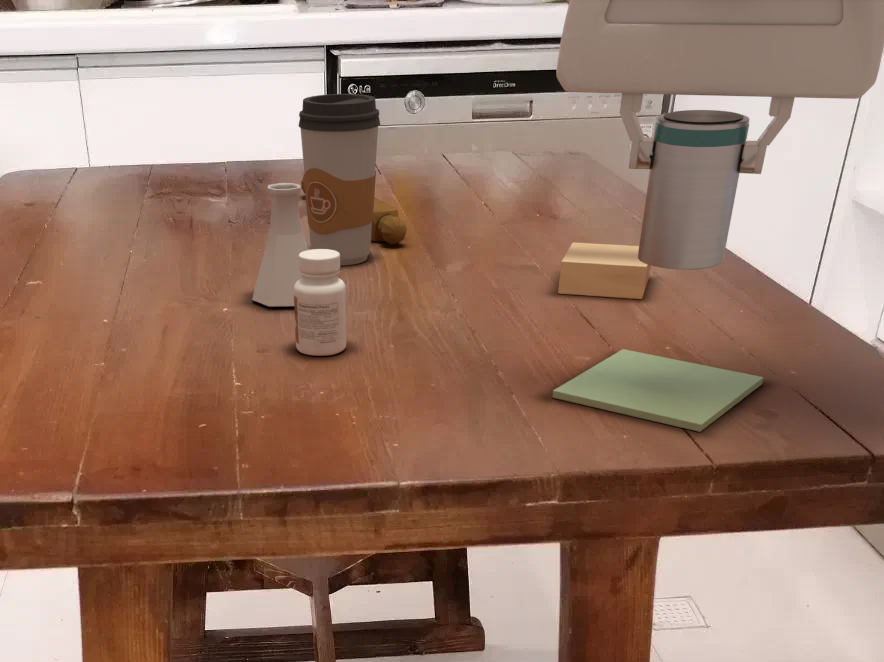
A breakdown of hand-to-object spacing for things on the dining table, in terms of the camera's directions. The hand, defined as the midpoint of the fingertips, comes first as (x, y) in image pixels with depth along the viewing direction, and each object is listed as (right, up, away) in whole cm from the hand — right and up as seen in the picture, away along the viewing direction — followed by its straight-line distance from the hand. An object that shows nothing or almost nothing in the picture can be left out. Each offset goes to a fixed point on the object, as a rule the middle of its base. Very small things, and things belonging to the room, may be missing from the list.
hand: (695, 170), depth 76 cm
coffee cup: (-24, +13, +43) cm, 51 cm away
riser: (+2, +6, +33) cm, 33 cm away
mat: (0, -12, +9) cm, 16 cm away
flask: (-29, +4, +31) cm, 43 cm away
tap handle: (-22, +24, +57) cm, 66 cm away
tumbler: (+1, +1, +3) cm, 3 cm away
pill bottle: (-26, -6, +19) cm, 33 cm away
